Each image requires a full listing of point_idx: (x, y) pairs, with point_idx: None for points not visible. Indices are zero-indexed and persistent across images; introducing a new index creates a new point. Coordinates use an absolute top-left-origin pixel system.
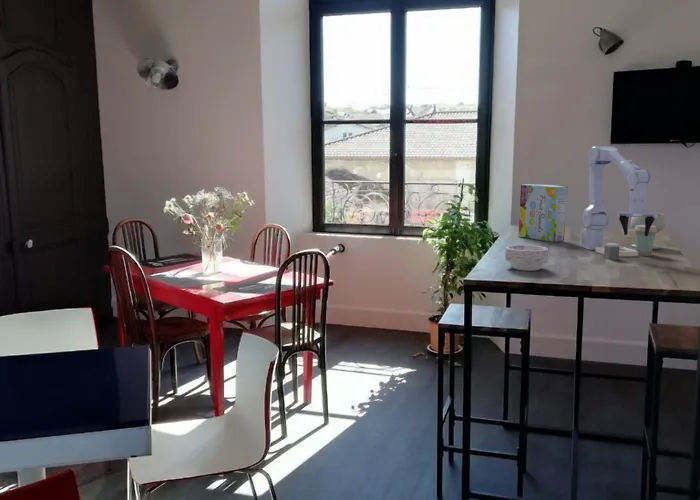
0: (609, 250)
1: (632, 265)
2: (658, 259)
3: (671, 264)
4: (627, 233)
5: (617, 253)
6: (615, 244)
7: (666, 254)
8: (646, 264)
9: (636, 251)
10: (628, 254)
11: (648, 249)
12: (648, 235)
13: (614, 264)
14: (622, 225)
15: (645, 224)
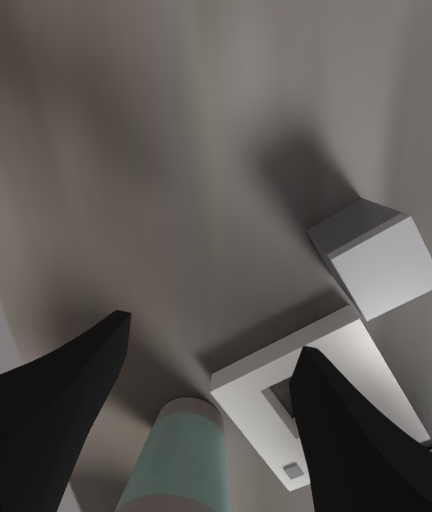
0: (389, 210)
1: (221, 53)
2: None
3: (34, 211)
4: (290, 393)
5: (323, 235)
6: (363, 261)
7: (102, 458)
8: (148, 141)
9: (217, 388)
10: (255, 358)
11: (161, 424)
12: (143, 498)
13: (334, 26)
14: (386, 419)
15: (68, 379)
